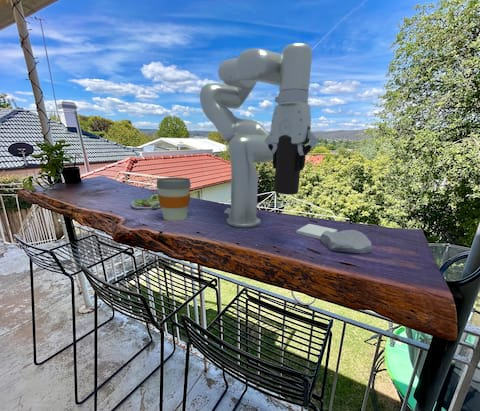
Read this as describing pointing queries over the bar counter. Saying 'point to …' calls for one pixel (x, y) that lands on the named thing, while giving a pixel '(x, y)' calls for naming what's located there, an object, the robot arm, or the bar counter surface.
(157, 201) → the salad plate
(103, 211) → the bar counter surface
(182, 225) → the bar counter surface
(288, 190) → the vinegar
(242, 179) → the robot arm
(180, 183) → the reusable coffee cup
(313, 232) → the tile
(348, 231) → the stone block
